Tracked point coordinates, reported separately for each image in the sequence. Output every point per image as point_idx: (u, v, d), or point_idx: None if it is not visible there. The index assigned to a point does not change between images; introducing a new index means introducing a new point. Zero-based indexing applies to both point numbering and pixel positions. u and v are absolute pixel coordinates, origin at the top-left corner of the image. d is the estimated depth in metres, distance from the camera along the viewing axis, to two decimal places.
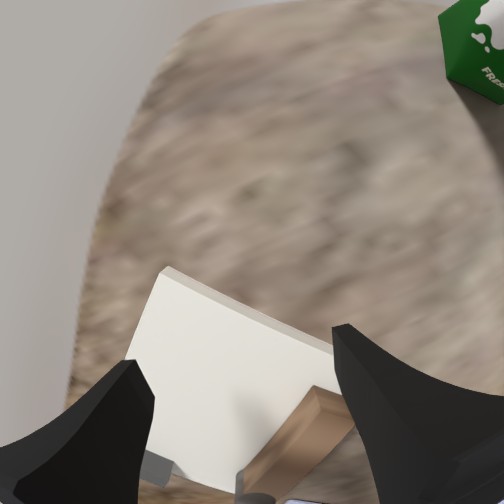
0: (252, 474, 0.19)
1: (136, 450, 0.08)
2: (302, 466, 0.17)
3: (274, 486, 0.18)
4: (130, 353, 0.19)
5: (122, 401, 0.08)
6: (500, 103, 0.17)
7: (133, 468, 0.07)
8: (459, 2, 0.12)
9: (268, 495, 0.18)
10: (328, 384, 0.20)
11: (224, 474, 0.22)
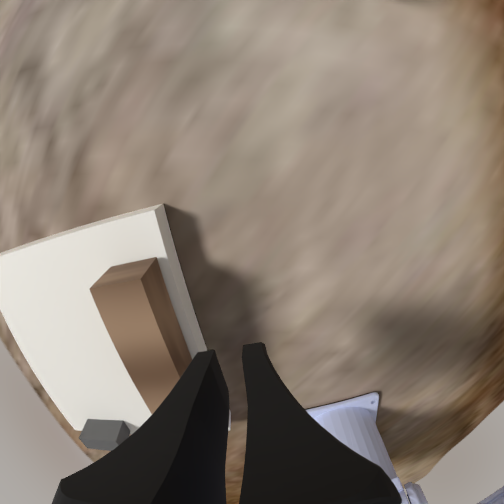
0: None
1: (221, 449, 0.08)
2: (159, 368, 0.15)
3: None
4: (14, 336, 0.18)
5: (210, 396, 0.08)
6: None
7: (220, 468, 0.07)
8: None
9: None
10: (128, 255, 0.16)
11: None
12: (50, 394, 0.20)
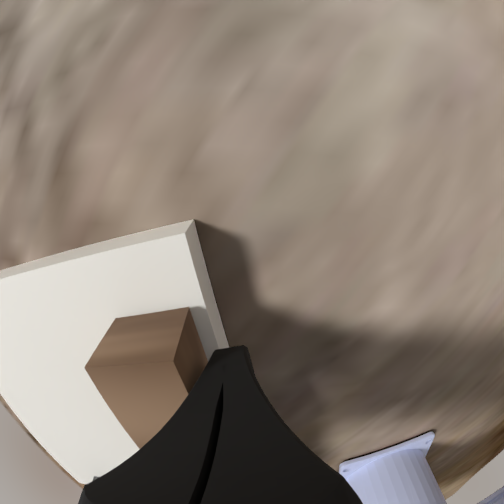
0: None
1: None
2: None
3: None
4: None
5: None
6: None
7: None
8: None
9: None
10: (143, 302, 0.11)
11: None
12: (47, 449, 0.14)
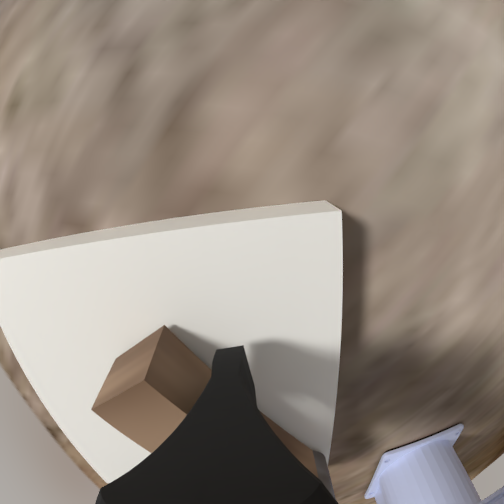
0: None
1: None
2: None
3: None
4: (28, 375, 0.12)
5: None
6: None
7: None
8: None
9: None
10: (279, 280, 0.10)
11: None
12: (78, 447, 0.14)
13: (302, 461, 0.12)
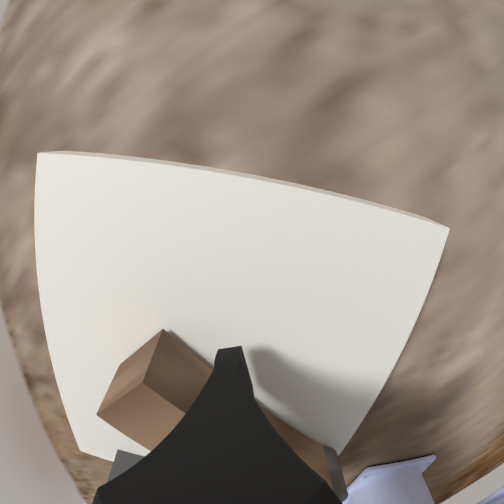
0: None
1: None
2: None
3: None
4: (45, 309, 0.11)
5: None
6: None
7: None
8: None
9: None
10: (389, 271, 0.11)
11: None
12: (68, 406, 0.13)
13: (311, 457, 0.12)
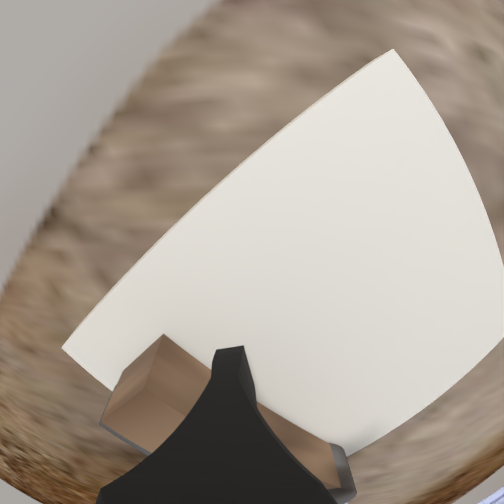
0: None
1: None
2: None
3: None
4: (255, 163, 0.09)
5: None
6: None
7: None
8: None
9: None
10: (486, 328, 0.12)
11: None
12: (124, 289, 0.10)
13: (318, 456, 0.12)
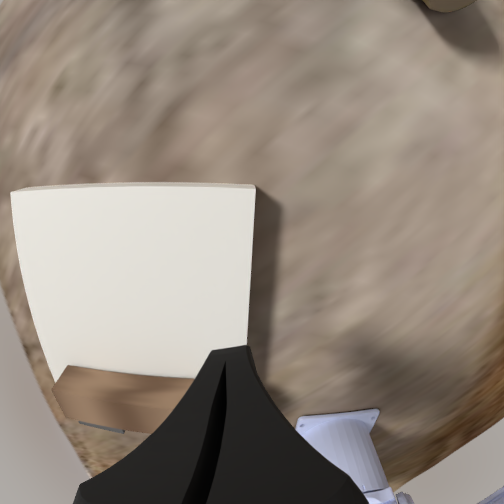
0: None
1: None
2: (119, 412, 0.16)
3: None
4: (26, 284, 0.17)
5: (226, 394, 0.08)
6: None
7: None
8: None
9: None
10: (210, 228, 0.16)
11: None
12: (48, 357, 0.19)
13: (177, 392, 0.18)
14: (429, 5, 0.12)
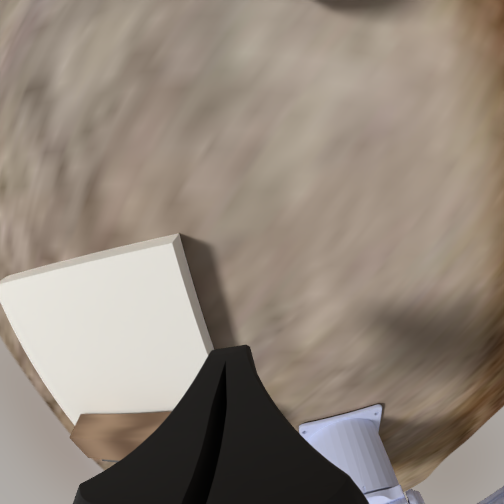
0: None
1: None
2: (125, 447, 0.18)
3: None
4: (29, 355, 0.19)
5: (226, 394, 0.08)
6: None
7: None
8: None
9: None
10: (146, 285, 0.17)
11: None
12: (64, 410, 0.21)
13: None
14: None
